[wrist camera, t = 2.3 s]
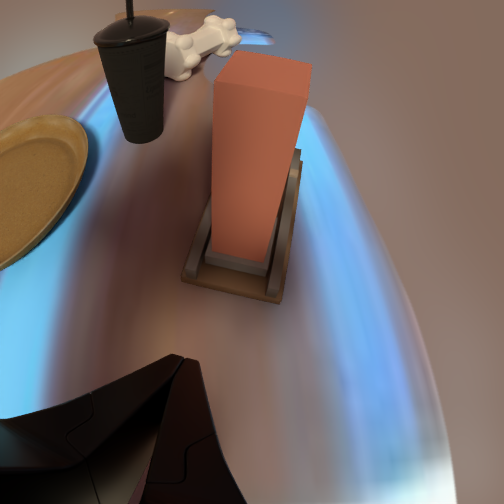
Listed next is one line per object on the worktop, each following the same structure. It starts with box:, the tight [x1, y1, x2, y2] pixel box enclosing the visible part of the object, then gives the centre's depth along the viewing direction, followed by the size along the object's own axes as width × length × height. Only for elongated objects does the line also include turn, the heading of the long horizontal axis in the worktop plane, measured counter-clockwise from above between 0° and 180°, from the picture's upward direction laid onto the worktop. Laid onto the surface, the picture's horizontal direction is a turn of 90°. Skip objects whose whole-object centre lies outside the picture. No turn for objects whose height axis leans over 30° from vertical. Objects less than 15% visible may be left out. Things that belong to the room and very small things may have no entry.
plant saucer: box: [0, 115, 88, 271], centre depth 26 cm, size 24×24×3 cm
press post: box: [205, 50, 312, 277], centre depth 19 cm, size 5×5×15 cm
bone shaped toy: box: [164, 15, 242, 81], centre depth 41 cm, size 15×9×8 cm, turn 151°
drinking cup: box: [93, 0, 170, 144], centre depth 25 cm, size 8×8×20 cm
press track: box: [181, 148, 303, 304], centre depth 27 cm, size 16×8×4 cm, turn 169°
